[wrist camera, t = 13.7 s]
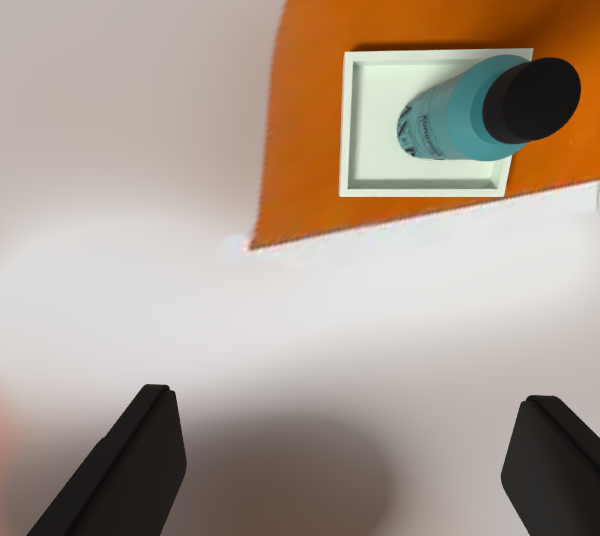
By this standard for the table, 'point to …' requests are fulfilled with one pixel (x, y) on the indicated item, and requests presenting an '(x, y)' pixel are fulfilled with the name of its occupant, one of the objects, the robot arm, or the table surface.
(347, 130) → the tray
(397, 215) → the table surface
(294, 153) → the table surface
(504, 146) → the beverage bottle
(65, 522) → the robot arm
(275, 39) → the table surface
